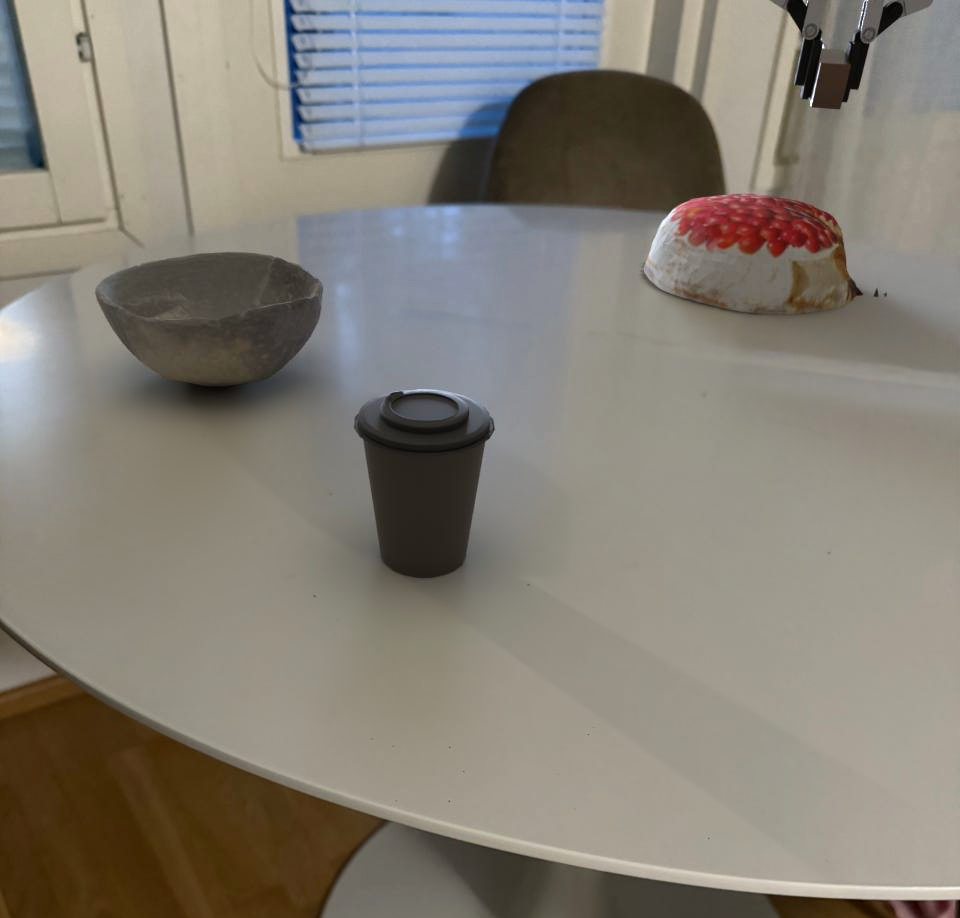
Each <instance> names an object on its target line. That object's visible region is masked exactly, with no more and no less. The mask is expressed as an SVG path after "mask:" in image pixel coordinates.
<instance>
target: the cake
mask: <svg viewBox="0 0 960 918" xmlns="http://www.w3.org/2000/svg"><path fill="white" fill-rule="evenodd" d="M643 273H644V274H645V275H646V276H647V278H648V280H649V281H650V282H651V283H653V285H655V286H656V287H657V288H658V289H660V290H662V291H664V292H666V293H667V294H671V295H673V296H677V297H680V298H683V299H686V300H690V301H694V302H696V303H700V304H704V305H709V306H714V307H718V308H722V309H727V310H731V311H736V312H742V313H750V314H761V315H800V314H802V315H803V314H810V313H816V312H821V311H829V310H833V309H836V308H841V307H844V306H846V305H847V304H849V303H850V302H853V301H855V298H856V296H863V295H864V293H863V291H862V290H861V289H860V288H858V286H857V284H856V282H855V281H854V280H853V278H852V277H851V276H850V274H849V272H848V269H847V255H846V249H845V242H844V234H843V231H842V228H841V226H840V225H839V222H838V221H837V219H836V218H835V217H834V215H832V214H831V213H829V212H827V211H825V210H822V209H820V208H817V207H815V206H814V205H812V204H809V203H807V202H805V201H800V200H796V199H792V198H788V197H783V196H775V195H768V194H761V193H751V192H750V193H749V192H748V193H746V192H745V193H729V194H722V195H712V196H702V197H696V198H691V199H689V200H688V201H685V202H683V203H680V204H679V205H677V206H675V207H674V208H673V209H671V211H670V212H669V214H668V215H667V216H666V217H665V218H664V219H663V220H662V221H661V223H660V225H659V226H658V229H657V231H656V234H655V236H654V239H653V241H652V243H651V247H650V251H649V253H648V256H647V258H646V261H645V263H644V267H643ZM879 296H880V294H879V290H878V288H876V289H875V290H874V293H873V297H874V298H878V297H879ZM883 296H884V298H886V297H887V296H888V293H887V292H885V293H883Z"/></svg>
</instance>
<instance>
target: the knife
mask: <svg viewBox="0 0 960 918" xmlns="http://www.w3.org/2000/svg"><path fill="white" fill-rule="evenodd" d="M820 40H822V42H823V46H822V50H821V55H820V58H819V61H818V65H817V70H816V74H815V79H814V84H813V88H812V93H811V97H810V98H808V100H809V103H810V104H809V105H810V107H811V108H813V109H814V108H815V109H828V110H841V107H842V104H843V102H842V100H843V96H844V92H845V88H846V83H847V79H848V75H849V71H850V67H851V64H850V62H849V60H848V59H847V56H846V54H845V53H846V50H845V49H840V48H829V47H828V44H827V41H826V39H825V38H823V37H821V39H820Z"/></svg>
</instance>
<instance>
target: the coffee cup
mask: <svg viewBox="0 0 960 918" xmlns="http://www.w3.org/2000/svg"><path fill="white" fill-rule="evenodd" d="M353 430H354V431H355V432H356V434H357V436H358V437H359V438H361V440H362V441H363V442H362V443H363V448H364V455H365V460H366V467H367V468H366V469H367V473H368V481H369V487H370V493H371V500H372V507H373V511H374V512H373V513H374V520H375V525H376V526H375V527H376V531H377V533H376V534H377V538H378V539H377V540H378V544H379V545H378V547H379V551H380V558H381V559H382V561H383V563H384V565H386V566H387V568H389V569H391V570H392V571H394V572H397V573H399V574H402V575H404V576H410V577H416V578H433V577H439V576H444V575H447V574H449V573H451V572H454V571H455V570H457V569H459V568H460V567H461V566H462V565H463V563H464V561H465V560H466V557H467V551H468V546H469V541H470V534H471V529H472V522H473V517H474V516H473V515H474V511H475V506H476V499H477V493H478V488H479V487H478V486H479V481H480V475H481V469H482V463H483V458H484V452H485V447H486V442H487V441H489V440H490V439H491V437H492V435H493V433H494V432H495V430H496V427H495V421H494V418H493V417H491V414H490V412H489V411H488V409H487V408H486V406H484V405H483V404H482V403H481V402H478V401H477V400H475V399H473V398H471V397H469V396H467V395H466V396H465V395H463V394H460V393H456V392H451V391H446V390H440V389H439V390H437V389H427V388H426V389H425V388H424V389H423V388H420V389H419V388H418V389H413V388H412V389H404V390H400V389H399V390H396V391H392V392H387V393H384V394H381V395H378V396H376V397H372V398H371V399H370V400H368V401H366V402H365V403H364V404H363V405H362V406H361V407H360V409H359V411H358V413H357V414H356V415H355V417H354V422H353Z"/></svg>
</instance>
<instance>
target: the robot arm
mask: <svg viewBox="0 0 960 918" xmlns="http://www.w3.org/2000/svg"><path fill="white" fill-rule="evenodd" d="M769 2H771V3H773V4H774V5H776V6H778V7H779V8H781V9H782V10H784V11H785V12H787V13H788V14H789V16H790V18H791V19H792V20H793V22H794V24H795V26H796V27H797V28H798V30H799V32H800V34H801V35H802V43H801V47H800V51H799V52H800V53H799V58H798V62H797V67H796V71H795V76H794V82H793V86H799V87H801V88H800V94H799V95H800V99H801V100H809V98H810V97H811V93H812V88H813V84H814V79H815V74H816V70H817V65H818V61H819V58H820V55H821V50H822V46H823V42H822V40H821V38H822V35H823V30H822V29H821V24H822V19H823V15H824V12H825V11H824V10H825V7H826V3H827V0H807V1H806V3H805V1H804V0H769ZM885 2H886V0H863V4H862V8H861V12H860V17H859V22H858V26H857V28H856V29H855V31H854V32H853V34H852V38H851V39H850V41H849V40H848V42H847V45H846V50H845V54H846V56H847V59H848V60H849V62H850V64H851V67H850V71H849V75H848V79H847V83H846V88H845V92H844V96H843V100H842V103H845V104H846V103H848V100H849V97H850V93H851V90H852V91H853V90H855V91H859V88H860V86H861V81H862V78H863V73H864V70H865V67H866V66H865V65H866V61H867V57H868V54H869V53H868V52H869V48H870V44H871V43H873V42H874V41H875V40H876V39H877V37H879V36H880V35H882V33H884V31H886V30H887V29H889V27H890V26H892V25H893V24H894V23H896V22H897V21H898V20H899V19H901V18H904V17H907V16H910V15H912V14H915V13H917V12H920V11H922V10H925V9H927V8H929V7H931V5H932V4H933V3H934V0H890V1H888V2H887V3H886V4H885Z"/></svg>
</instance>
